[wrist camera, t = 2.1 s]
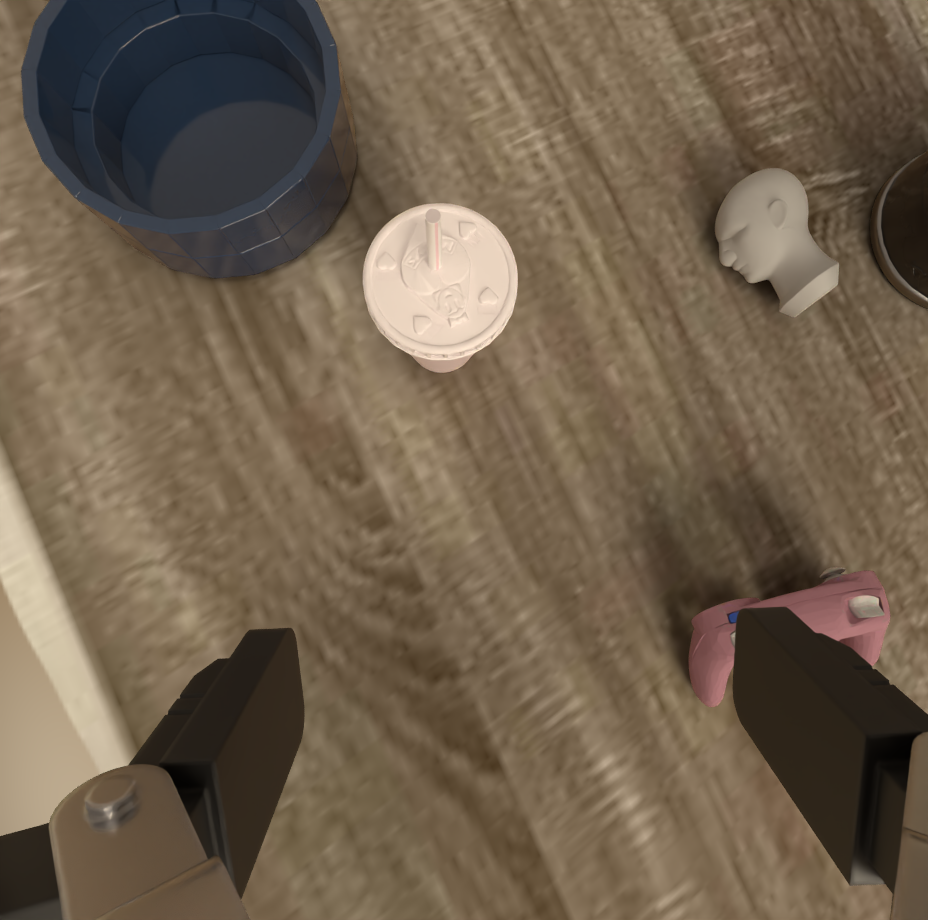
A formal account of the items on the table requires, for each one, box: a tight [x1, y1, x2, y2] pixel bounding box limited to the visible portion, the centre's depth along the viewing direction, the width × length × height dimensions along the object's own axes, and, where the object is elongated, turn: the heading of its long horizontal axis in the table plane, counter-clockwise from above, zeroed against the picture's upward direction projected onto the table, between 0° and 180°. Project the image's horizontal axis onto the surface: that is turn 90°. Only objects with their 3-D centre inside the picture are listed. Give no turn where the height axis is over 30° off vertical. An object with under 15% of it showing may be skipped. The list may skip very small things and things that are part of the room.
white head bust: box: [715, 168, 839, 318], centre depth 34 cm, size 4×8×5 cm
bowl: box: [21, 0, 357, 278], centre depth 33 cm, size 14×14×6 cm
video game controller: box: [689, 567, 890, 707], centre depth 32 cm, size 10×5×7 cm, turn 103°
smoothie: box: [363, 203, 518, 373], centre depth 28 cm, size 6×6×14 cm
